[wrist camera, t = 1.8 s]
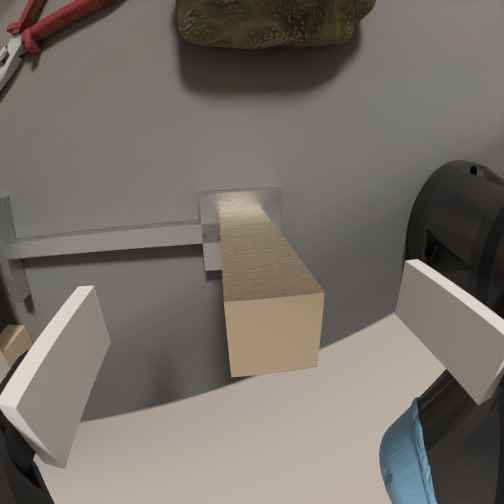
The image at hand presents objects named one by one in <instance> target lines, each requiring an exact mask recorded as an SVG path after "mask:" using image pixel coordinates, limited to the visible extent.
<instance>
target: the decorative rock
mask: <svg viewBox="0 0 504 504" xmlns="http://www.w3.org/2000/svg"><path fill="white" fill-rule="evenodd" d="M375 2H376V0H176V8H177V25H178V30H179V32H180V34H181V36H182V37H183V38H184V39H185V40H186V41H188V42H190V43H193V44H197V45H202V46H212V47H225V48H238V49H244V50H258V49H263V48H268V47H274V46H280V45H286V46H292V47H296V48H306V47H314V46H321V45H329V44H342V43H345V42H347V41H349V40H350V38H351V37H352V34H353V32H354V29H355V27H356V25H357V24H358V23H359V22H360V20H361V19H363V18H364V17H365V16H366V15H367V14H369V12H370V11H371V10H372V9H373V7H374V6H375Z"/></svg>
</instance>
